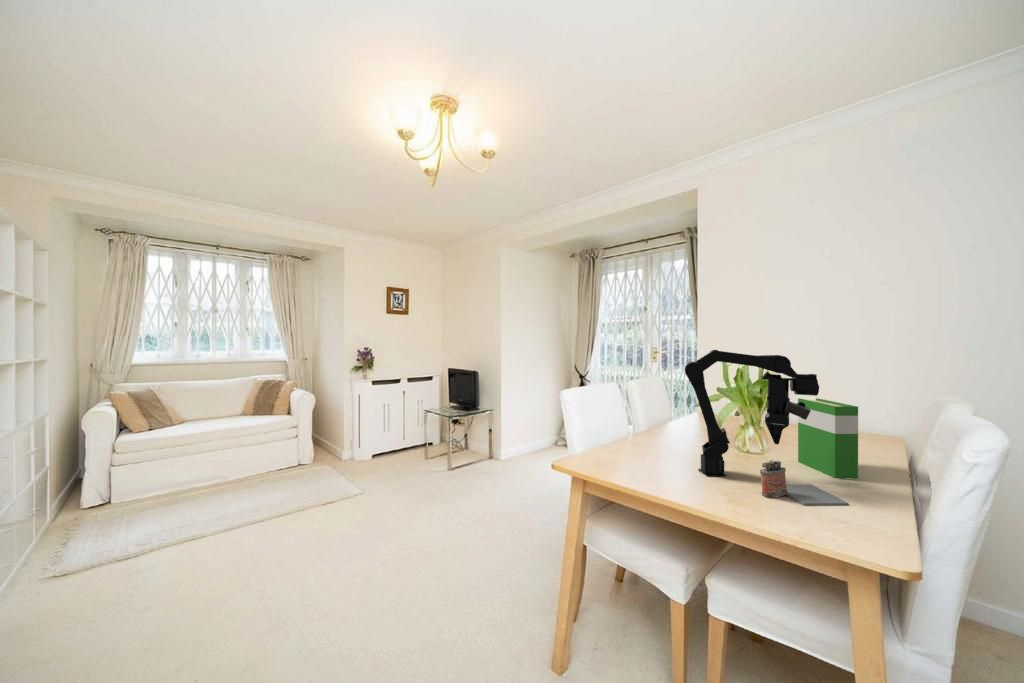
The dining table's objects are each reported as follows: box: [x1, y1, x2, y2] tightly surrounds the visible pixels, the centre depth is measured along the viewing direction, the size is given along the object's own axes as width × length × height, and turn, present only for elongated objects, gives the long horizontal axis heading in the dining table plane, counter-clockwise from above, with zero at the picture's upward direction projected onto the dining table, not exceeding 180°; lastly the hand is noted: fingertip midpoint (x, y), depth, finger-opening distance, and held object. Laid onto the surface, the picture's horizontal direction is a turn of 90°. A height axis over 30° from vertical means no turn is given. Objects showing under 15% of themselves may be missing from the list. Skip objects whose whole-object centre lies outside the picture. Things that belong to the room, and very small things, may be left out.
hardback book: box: [797, 397, 859, 479], centre depth 138 cm, size 18×7×24 cm, turn 178°
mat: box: [785, 483, 850, 506], centre depth 116 cm, size 12×14×1 cm
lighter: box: [759, 459, 788, 499], centre depth 116 cm, size 8×3×10 cm, turn 103°
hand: (776, 441), depth 127 cm, fingers open, 9 cm apart
